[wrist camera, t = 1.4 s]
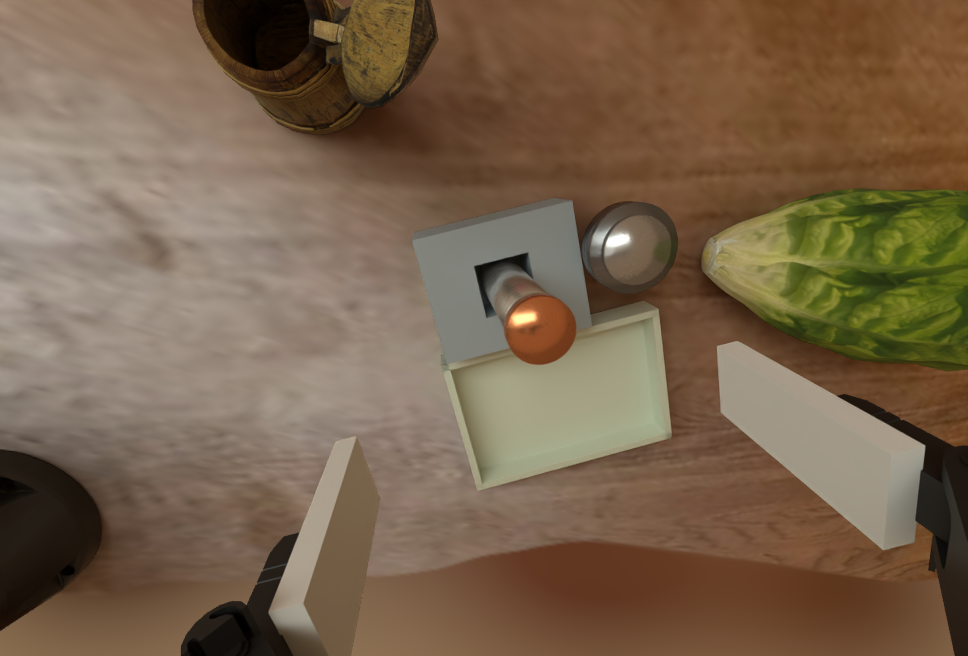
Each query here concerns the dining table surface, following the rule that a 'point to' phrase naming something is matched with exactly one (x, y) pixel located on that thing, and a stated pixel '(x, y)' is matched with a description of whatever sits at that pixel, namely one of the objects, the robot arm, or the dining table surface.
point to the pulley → (630, 246)
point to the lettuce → (857, 273)
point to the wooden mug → (318, 54)
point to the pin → (528, 313)
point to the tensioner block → (470, 243)
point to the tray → (564, 399)
